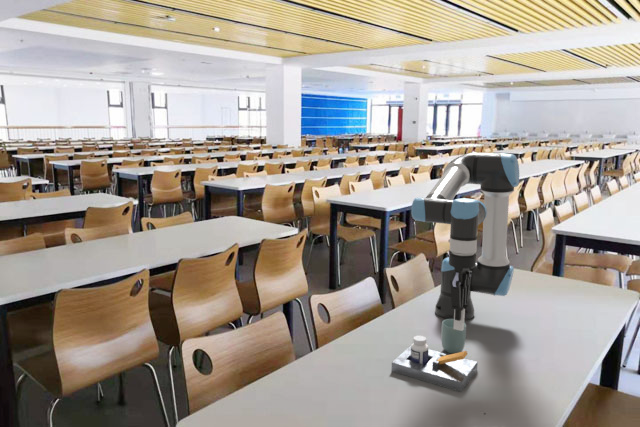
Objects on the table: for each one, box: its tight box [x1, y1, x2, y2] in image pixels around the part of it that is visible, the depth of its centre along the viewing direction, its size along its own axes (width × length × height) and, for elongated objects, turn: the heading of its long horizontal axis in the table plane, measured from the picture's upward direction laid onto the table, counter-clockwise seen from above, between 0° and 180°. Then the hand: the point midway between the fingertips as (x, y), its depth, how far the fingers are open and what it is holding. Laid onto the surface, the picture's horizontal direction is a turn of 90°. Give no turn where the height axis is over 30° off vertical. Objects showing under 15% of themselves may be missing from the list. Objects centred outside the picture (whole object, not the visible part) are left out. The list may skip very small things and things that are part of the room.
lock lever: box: [435, 350, 468, 364], centre depth 156 cm, size 4×10×1 cm, turn 56°
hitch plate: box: [391, 345, 478, 393], centre depth 160 cm, size 15×22×5 cm
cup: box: [440, 318, 467, 354], centre depth 172 cm, size 8×8×10 cm
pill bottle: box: [410, 335, 429, 365], centre depth 162 cm, size 5×5×10 cm
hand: (458, 329), depth 153 cm, fingers closed
